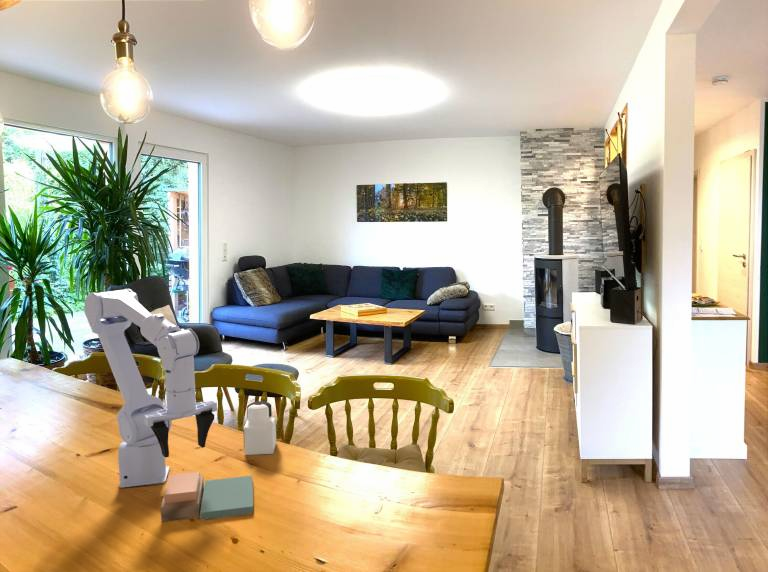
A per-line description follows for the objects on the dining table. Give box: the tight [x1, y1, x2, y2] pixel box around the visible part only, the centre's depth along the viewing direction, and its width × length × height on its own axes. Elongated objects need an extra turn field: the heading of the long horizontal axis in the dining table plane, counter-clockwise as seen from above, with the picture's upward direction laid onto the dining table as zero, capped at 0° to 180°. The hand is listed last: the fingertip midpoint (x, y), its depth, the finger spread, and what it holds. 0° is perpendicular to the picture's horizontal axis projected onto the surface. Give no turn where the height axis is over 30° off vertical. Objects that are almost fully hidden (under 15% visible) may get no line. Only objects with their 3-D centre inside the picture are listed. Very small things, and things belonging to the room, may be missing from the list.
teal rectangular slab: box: [199, 475, 254, 521], centre depth 119 cm, size 10×14×2 cm
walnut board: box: [160, 475, 205, 523], centre depth 116 cm, size 7×12×3 cm, turn 13°
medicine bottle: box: [242, 400, 277, 456], centre depth 144 cm, size 7×7×12 cm
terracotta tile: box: [163, 471, 201, 504], centre depth 116 cm, size 6×9×2 cm, turn 13°
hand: (184, 450), depth 120 cm, fingers open, 7 cm apart
